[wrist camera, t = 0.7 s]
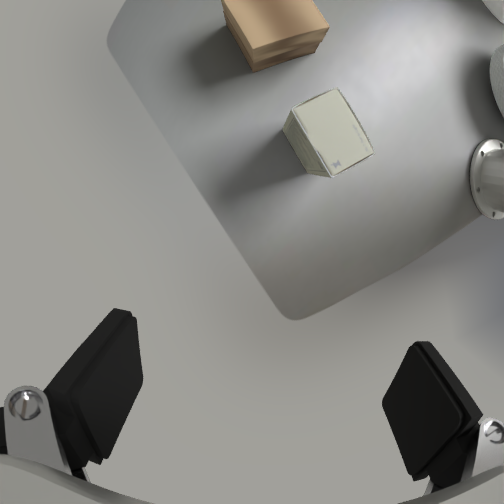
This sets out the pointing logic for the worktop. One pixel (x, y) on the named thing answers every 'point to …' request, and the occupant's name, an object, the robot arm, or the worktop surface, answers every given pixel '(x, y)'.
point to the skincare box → (327, 134)
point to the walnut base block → (274, 59)
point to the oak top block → (275, 25)
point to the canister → (496, 8)
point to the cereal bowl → (498, 77)
